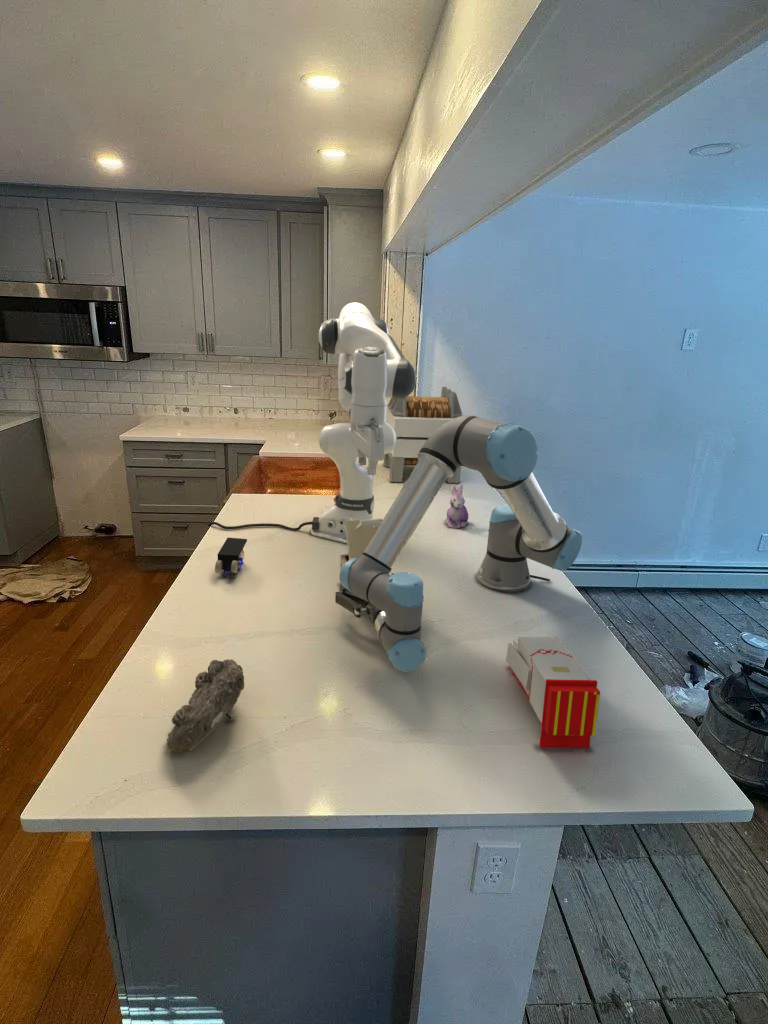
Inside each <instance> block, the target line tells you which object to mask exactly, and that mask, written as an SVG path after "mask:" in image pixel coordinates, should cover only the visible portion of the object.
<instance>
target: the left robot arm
mask: <svg viewBox="0 0 768 1024" xmlns="http://www.w3.org/2000/svg"><path fill="white" fill-rule="evenodd" d="M318 342H319V345H320V347H321V349H322V351H323V352H324V353H326V354H328V355H329V354H330V355H335V354H337V355H338V354H339V355H338V356H339V357H338V365H337V387H338V388H337V389H338V390H337V391H338V402H339V405H340V407H341V408H342V409H343V410H344V411H346V412H347V413H348V417H349V419H350V422H338V423H332V424H328V425H325V426H324V427H322V429H321V431H320V432H319V435H318V444H319V447H320V449H321V451H322V452H323V454H325V455H326V456H327V457H328V458H330V459H331V460H332V462H333V463H334V464H335V466H336V467H337V470H338V474H339V483H340V484H339V485H340V488H339V489H340V490H339V491H338V492H337V494H336V495H335V496H334V497H333V502H334V504H333V505H331V506H329V507H328V508H326V509H325V510H323V512H321V514H320V515H319V516H313V518H312V521H305V522H302V523H300V524H299V525H298V526H297V527H290V526H287V525H284V524H281V523H271V522H270V523H269V522H268V523H267V522H265V523H264V522H262V523H248V524H242V525H233V526H231V525H230V526H229V525H224V524H221V523H220V522H217V521H211V522H209V523H208V524H207V527H212V526H213V525H215V526H217V527H219V528H221V529H225V530H238V529H244V528H245V529H246V528H251V527H253V528H255V527H278V528H282V529H285V530H288V531H293V532H297V531H300V530H301V529H302V528H303V527H304V526H310V525H311V530H310V533H311V536H315V537H319V538H323V539H326V540H330V541H336V542H339V543H343V544H347V534H346V525H345V522H346V521H354V520H366V519H374V513H373V512H374V509H375V496H374V476H375V475H376V471H377V466H378V463H379V462H382V461H384V456H385V454H387V453H390V452H391V451H392V450H393V449H394V447H395V445H396V434H395V431H394V429H393V428H392V427H391V426H390V425H389V424H387V423H386V412H387V405H388V404H387V402H388V401H387V398H390V399H391V398H397V399H404V398H406V397H407V396H411V394H412V393H413V392H414V390H415V388H416V382H417V377H416V369H415V368H414V366H413V364H412V363H411V362H410V360H408V359H407V358H406V357H405V355H404V354H403V352H402V350H401V348H400V347H399V345H398V344H397V342H396V341H395V339H394V338H393V336H391V335H390V333H389V328H388V325H387V323H386V321H385V320H384V319H381V318H378V317H374V316H373V315H372V313H371V311H370V310H369V309H368V307H367V306H366V305H364V304H363V303H360V302H357V301H355V302H350V303H347V304H346V305H344V306H343V307H342V308H341V311H340V313H339V314H338V318H333V317H332V318H329V319H326V320H324V321H323V322H322V323H321V324H320V328H319V331H318ZM357 458H358V460H357ZM357 461H358V462H357ZM367 462H368V466H367V467H366V465H367Z"/></svg>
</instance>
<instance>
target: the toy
mask: <svg viewBox="0 0 768 1024" xmlns="http://www.w3.org/2000/svg"><path fill="white" fill-rule="evenodd" d="M505 659H506V660H505V661H506V663H507V664H508V666H509V667H508V669H510V671H511V673H512V674H513V676H514V678H515V680H516V681H517V683H518V685H519V686H520V688H521V689H522V691H523V693H524V694H525V696H526V698H527V700H529V703H530V705H531V707H532V708H533V711H534V712H535V715H536V716H537V718H538V720H539V722H540V725H541V726H540V736H539V744H538V746H539V748H540V749H590V746H591V736H592V737H595V735H596V731H597V730H596V729H597V722H598V721H597V720H598V714H599V713H598V712H599V703H600V697H601V691H600V690H599V688H598V680H596V679H591V678H590V677H589V675H588V674H587V673H586V672H585V670H584V669H583V668H582V667H581V665H580V664H579V663H578V661H577V660H576V659H575V657H574V656H573V655H572V653H570V650H569V649H568V648H567V647H566V645H564V643H563V642H562V641H561V639H560V638H559V637H548V636H547V637H546V636H545V637H543V636H518V638H517V637H515V638H512V643H511V642H508V646H507V653H506V658H505Z"/></svg>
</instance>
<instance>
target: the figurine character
mask: <svg viewBox="0 0 768 1024" xmlns="http://www.w3.org/2000/svg"><path fill="white" fill-rule="evenodd" d="M247 542H248V538H240V537H226V539H225V541H224V543H223V544H222V546H221V547H220V549H219V551H218V552H217V560H216V562H215V564H214V572H215V573H221V577H222V578H224V577H225V576H226V574H227V573H230V574H231V573H232V574H231V578H234V577H235V575H236V573H237V572H239V571H240V567H242V566H243V565H244V564H245V562H244V558H245V551H244V547H245V546H246V544H247Z"/></svg>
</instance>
